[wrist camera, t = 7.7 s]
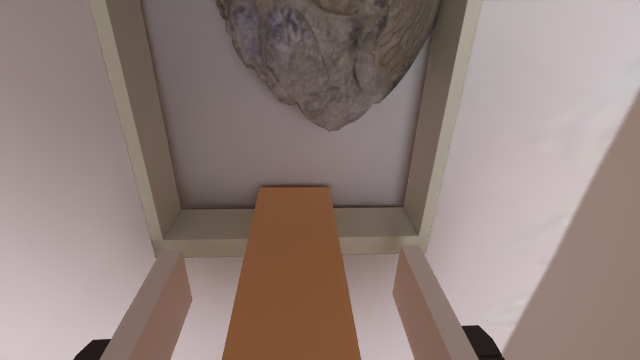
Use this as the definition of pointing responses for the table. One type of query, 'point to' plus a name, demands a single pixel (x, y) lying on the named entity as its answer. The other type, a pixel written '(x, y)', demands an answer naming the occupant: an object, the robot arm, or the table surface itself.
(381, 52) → the fossilized seashell
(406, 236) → the sled
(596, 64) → the table surface
